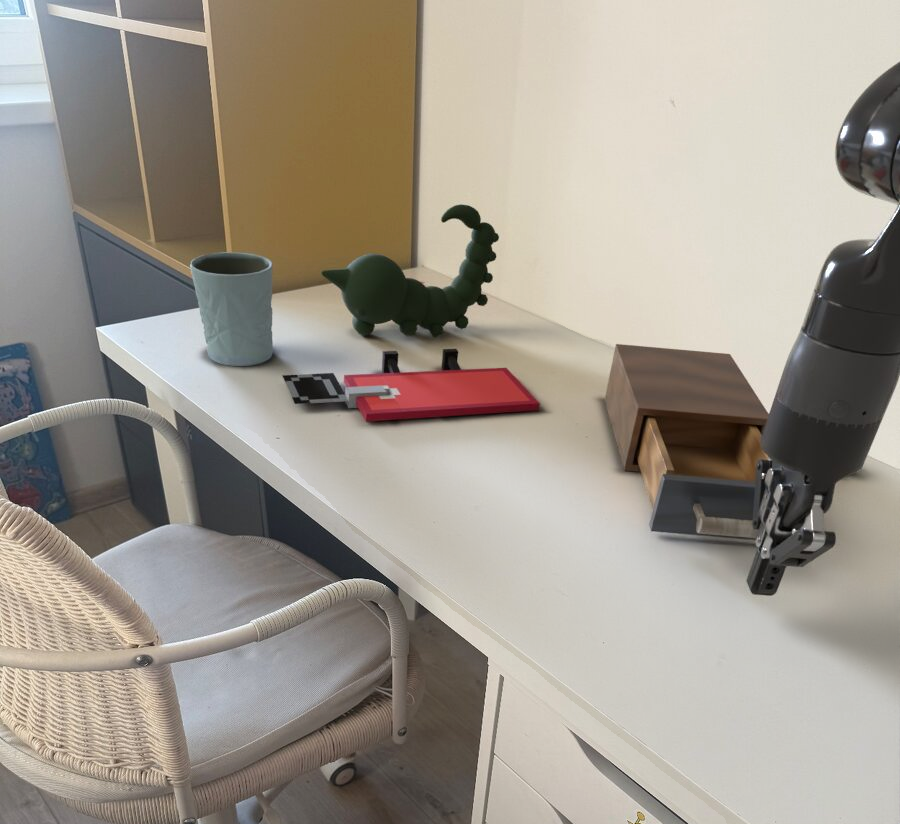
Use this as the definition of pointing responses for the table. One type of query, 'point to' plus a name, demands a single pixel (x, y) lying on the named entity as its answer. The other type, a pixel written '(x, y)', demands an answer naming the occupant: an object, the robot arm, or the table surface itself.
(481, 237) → the toy figurine
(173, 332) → the table surface
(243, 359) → the pale green cup
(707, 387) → the cabinet
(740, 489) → the drawer
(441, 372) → the red board with handle
